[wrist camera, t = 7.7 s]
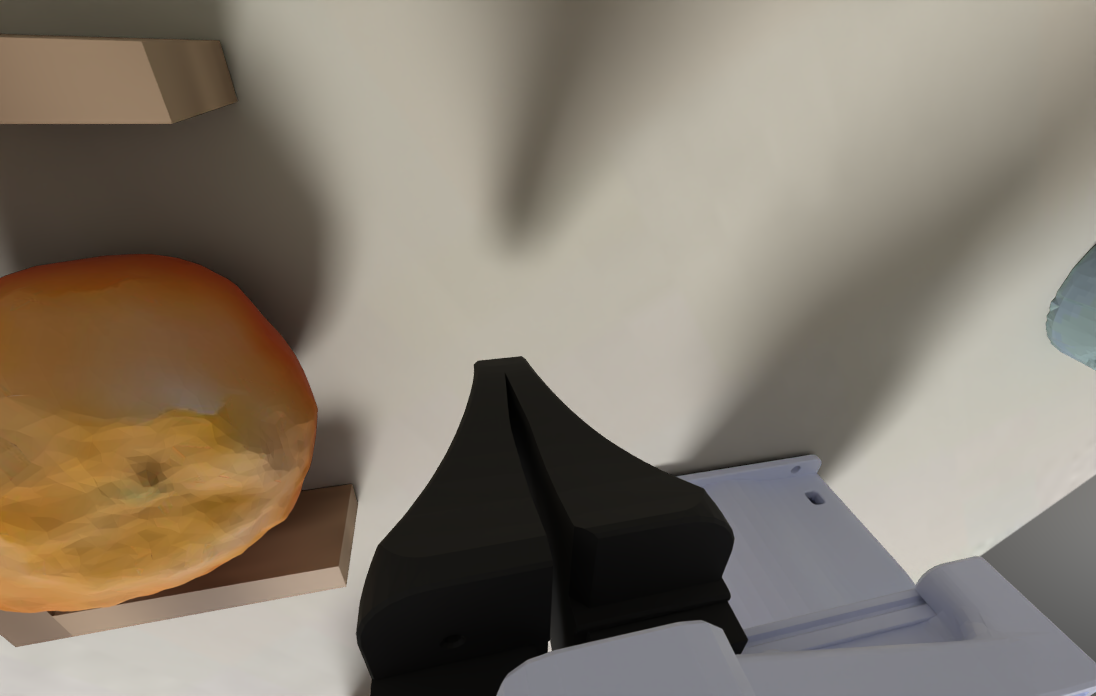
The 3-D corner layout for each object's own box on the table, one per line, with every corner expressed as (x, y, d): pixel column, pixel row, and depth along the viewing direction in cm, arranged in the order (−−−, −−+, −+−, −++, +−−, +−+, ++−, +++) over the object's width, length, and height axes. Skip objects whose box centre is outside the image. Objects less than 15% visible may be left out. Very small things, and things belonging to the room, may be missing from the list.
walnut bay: (219, 40, 10) (131, 41, 7) (358, 504, 19) (344, 595, 16) (-363, 22, 8) (-815, 14, 5) (83, 545, 17) (8, 657, 14)
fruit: (-221, 334, 10) (-562, 545, 5) (161, 190, 14) (209, 218, 8) (80, 533, 15) (77, 753, 10) (308, 387, 19) (401, 486, 13)
